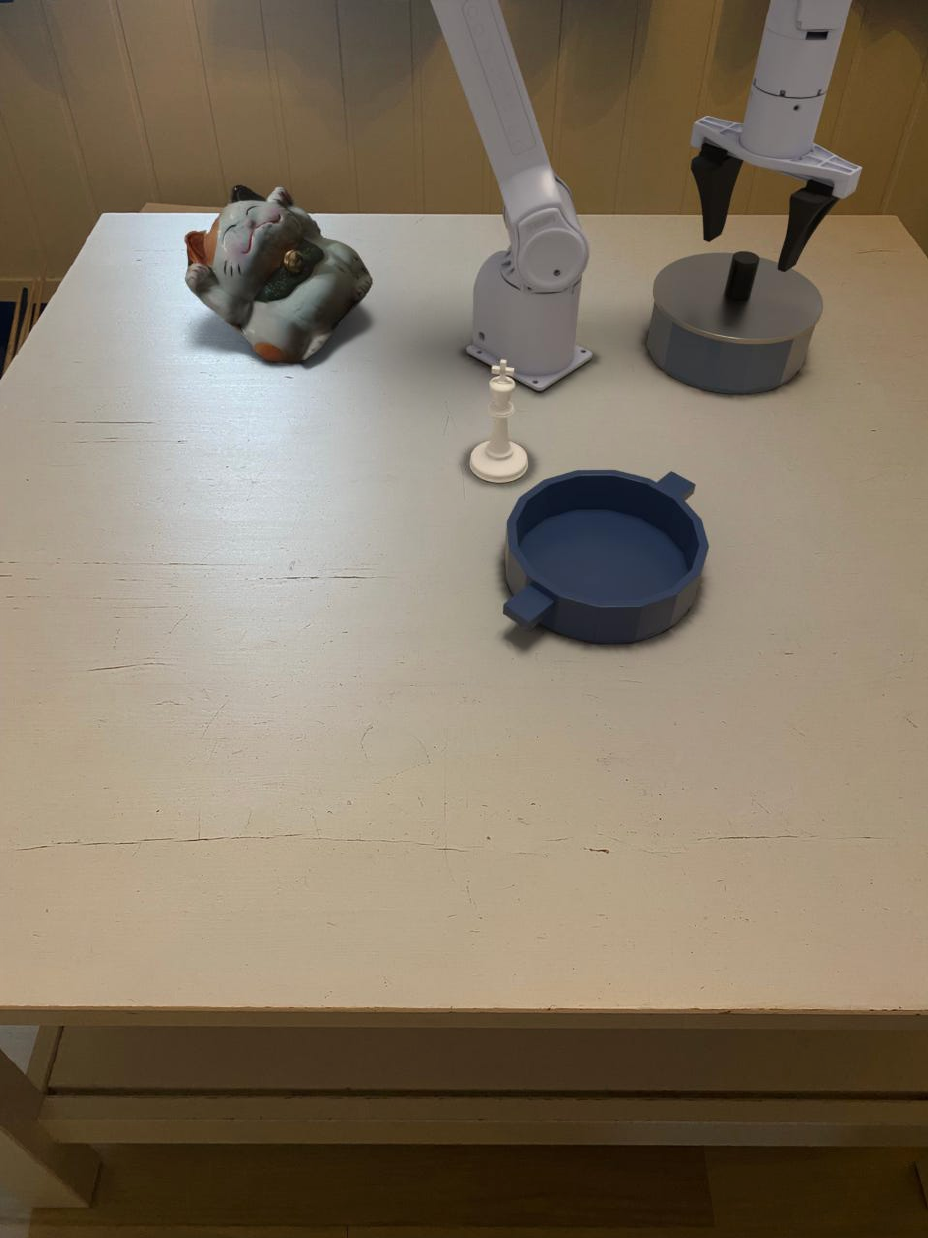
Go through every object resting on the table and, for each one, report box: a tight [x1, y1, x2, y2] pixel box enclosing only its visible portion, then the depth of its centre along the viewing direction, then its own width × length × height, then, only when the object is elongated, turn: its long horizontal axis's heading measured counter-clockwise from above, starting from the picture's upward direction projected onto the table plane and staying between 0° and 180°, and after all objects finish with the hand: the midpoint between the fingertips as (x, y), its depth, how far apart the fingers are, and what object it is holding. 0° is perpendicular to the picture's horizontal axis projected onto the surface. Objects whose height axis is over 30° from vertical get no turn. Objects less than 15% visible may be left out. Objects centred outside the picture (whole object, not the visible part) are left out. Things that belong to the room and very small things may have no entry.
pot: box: [645, 301, 816, 395], centre depth 89 cm, size 15×15×5 cm
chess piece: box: [469, 359, 529, 484], centre depth 76 cm, size 5×5×10 cm
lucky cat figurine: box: [183, 184, 374, 364], centre depth 89 cm, size 15×12×14 cm
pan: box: [502, 469, 710, 645], centre depth 70 cm, size 14×20×4 cm
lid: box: [652, 250, 824, 344], centre depth 86 cm, size 15×15×5 cm
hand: (748, 251), depth 83 cm, fingers open, 7 cm apart
